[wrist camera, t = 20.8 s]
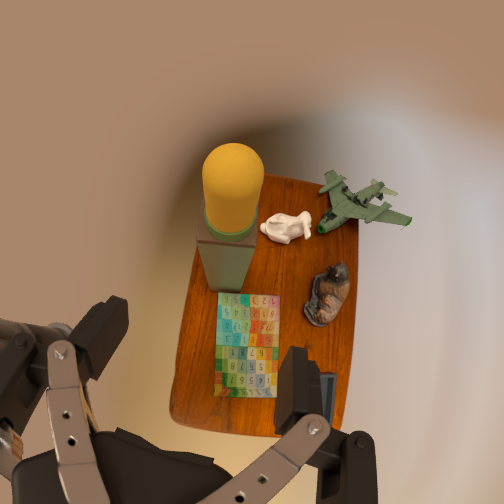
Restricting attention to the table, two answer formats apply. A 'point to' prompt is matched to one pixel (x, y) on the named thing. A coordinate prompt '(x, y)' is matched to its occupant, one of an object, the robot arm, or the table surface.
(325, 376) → the basket
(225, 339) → the puzzle game
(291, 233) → the rabbit figurine
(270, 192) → the table surface
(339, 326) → the table surface
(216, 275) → the plinth
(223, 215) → the corn toy
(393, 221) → the airplane
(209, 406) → the table surface
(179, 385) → the table surface
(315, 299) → the cat statue
